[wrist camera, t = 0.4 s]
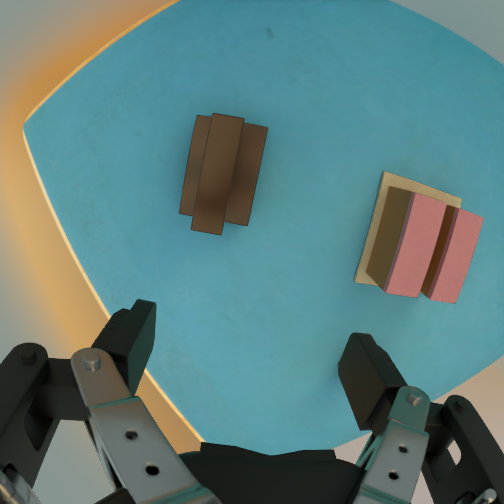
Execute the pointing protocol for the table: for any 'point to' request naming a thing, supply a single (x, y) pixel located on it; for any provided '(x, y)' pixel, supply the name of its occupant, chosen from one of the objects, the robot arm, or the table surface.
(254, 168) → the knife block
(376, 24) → the table surface
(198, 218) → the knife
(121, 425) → the robot arm
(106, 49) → the table surface
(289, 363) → the table surface
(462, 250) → the pink slotted holder
